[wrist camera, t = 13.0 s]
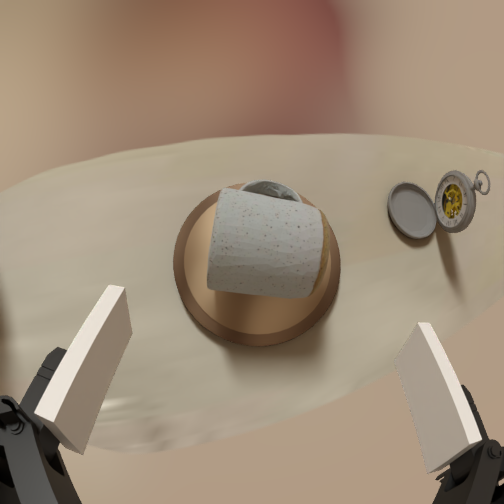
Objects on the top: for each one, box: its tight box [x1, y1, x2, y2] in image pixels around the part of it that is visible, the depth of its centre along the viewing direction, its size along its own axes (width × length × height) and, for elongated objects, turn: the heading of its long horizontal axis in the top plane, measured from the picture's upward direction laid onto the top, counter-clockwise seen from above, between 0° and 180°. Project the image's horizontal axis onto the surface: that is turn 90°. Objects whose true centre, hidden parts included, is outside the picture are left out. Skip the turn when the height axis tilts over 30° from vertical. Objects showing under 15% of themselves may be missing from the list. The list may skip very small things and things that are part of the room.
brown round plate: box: [173, 183, 340, 346], centre depth 26 cm, size 15×15×1 cm
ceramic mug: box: [207, 180, 330, 299], centre depth 22 cm, size 11×8×8 cm
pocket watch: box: [388, 170, 490, 239], centre depth 25 cm, size 8×8×10 cm
